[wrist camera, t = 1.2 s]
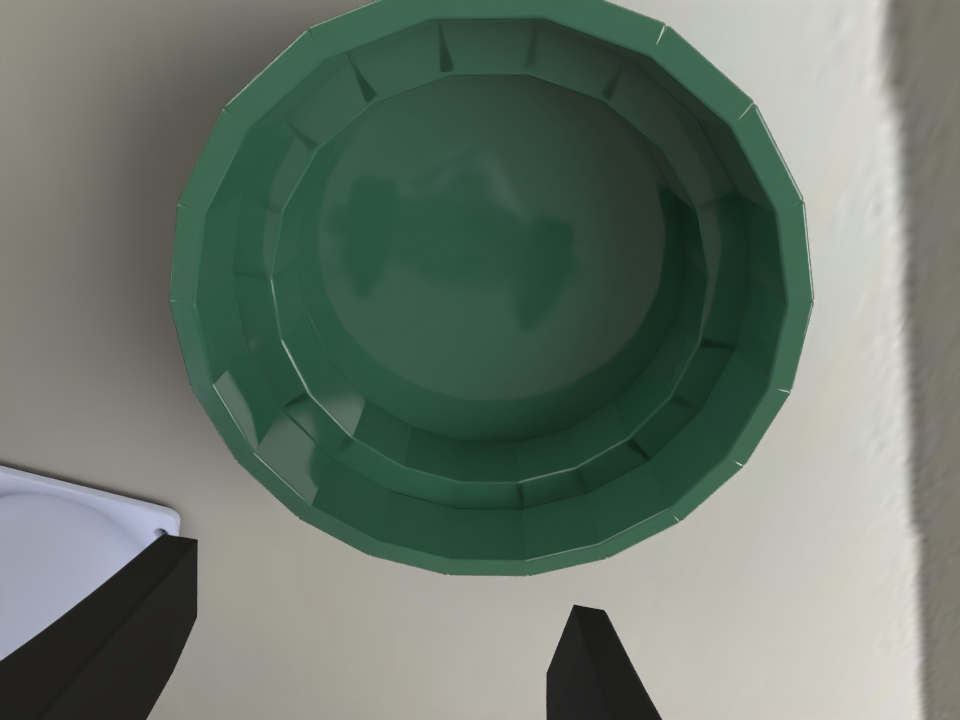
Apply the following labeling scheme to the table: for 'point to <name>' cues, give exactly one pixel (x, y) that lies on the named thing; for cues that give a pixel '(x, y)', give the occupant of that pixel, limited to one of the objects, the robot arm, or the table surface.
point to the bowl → (491, 280)
